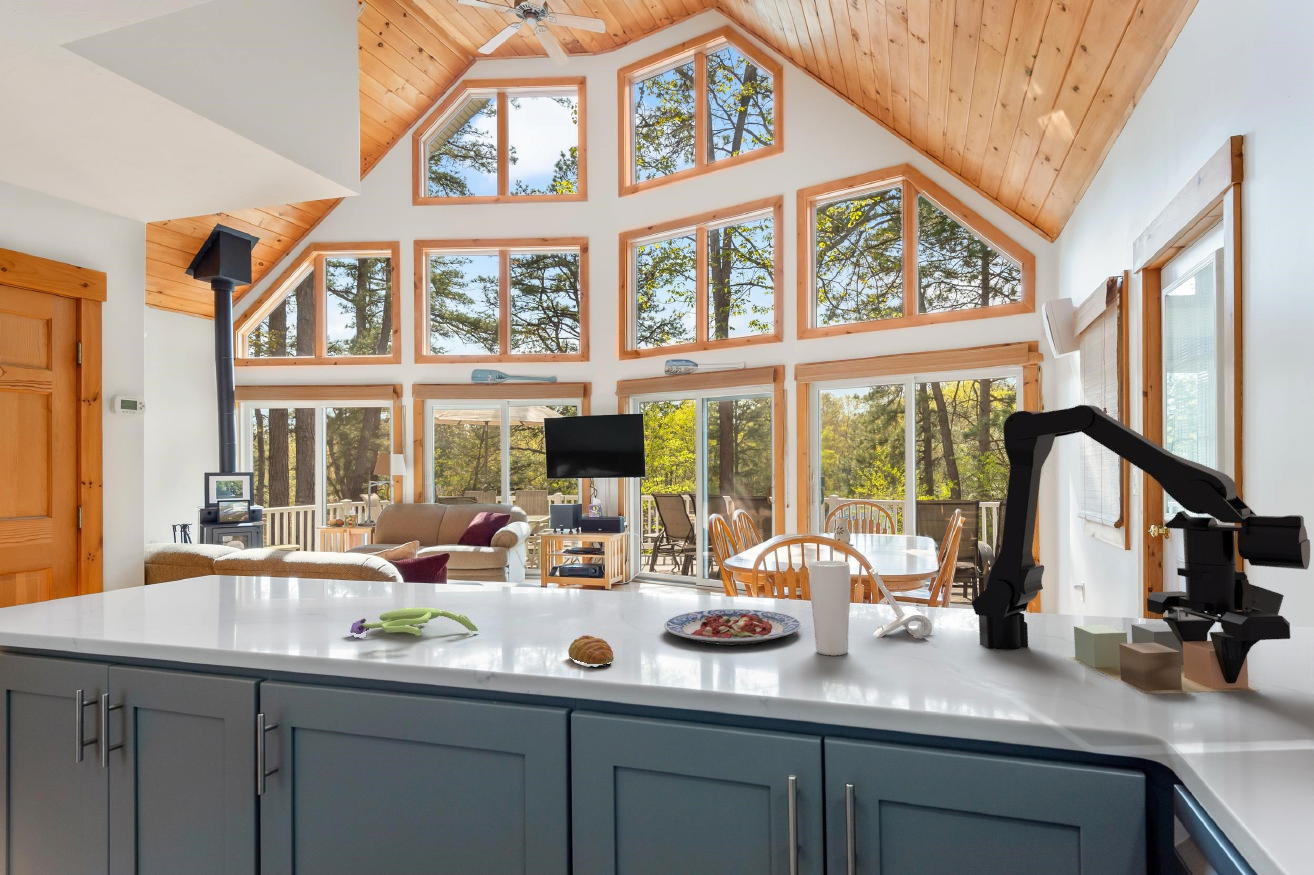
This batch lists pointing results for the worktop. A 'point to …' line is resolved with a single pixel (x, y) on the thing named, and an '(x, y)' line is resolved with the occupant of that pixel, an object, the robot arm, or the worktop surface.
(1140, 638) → the grey block
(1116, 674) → the oak board
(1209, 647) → the terracotta block
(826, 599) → the drinking glass
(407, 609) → the figurine
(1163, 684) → the walnut block
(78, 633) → the worktop surface
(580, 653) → the pastry
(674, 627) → the ceramic plate
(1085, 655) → the sage block
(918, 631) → the plastic part
